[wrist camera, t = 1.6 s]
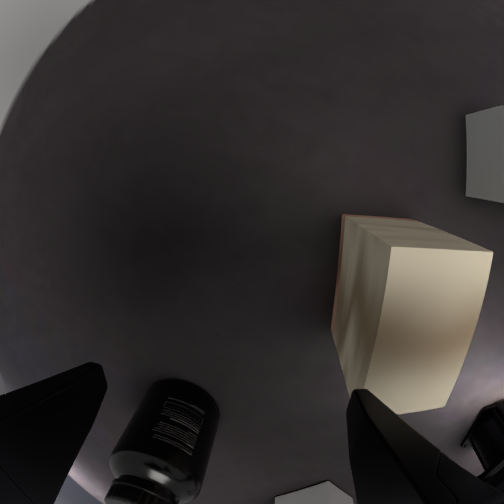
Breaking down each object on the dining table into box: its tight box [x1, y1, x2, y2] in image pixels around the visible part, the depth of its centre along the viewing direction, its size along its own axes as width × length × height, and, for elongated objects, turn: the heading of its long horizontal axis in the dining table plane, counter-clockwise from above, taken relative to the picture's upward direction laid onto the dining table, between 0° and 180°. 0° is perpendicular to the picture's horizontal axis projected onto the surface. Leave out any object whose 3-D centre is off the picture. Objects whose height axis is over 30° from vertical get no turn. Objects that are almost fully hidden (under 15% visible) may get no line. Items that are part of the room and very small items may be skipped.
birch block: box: [331, 214, 493, 414], centre depth 15 cm, size 8×5×9 cm, turn 179°
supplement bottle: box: [104, 381, 219, 504], centre depth 18 cm, size 7×7×12 cm
